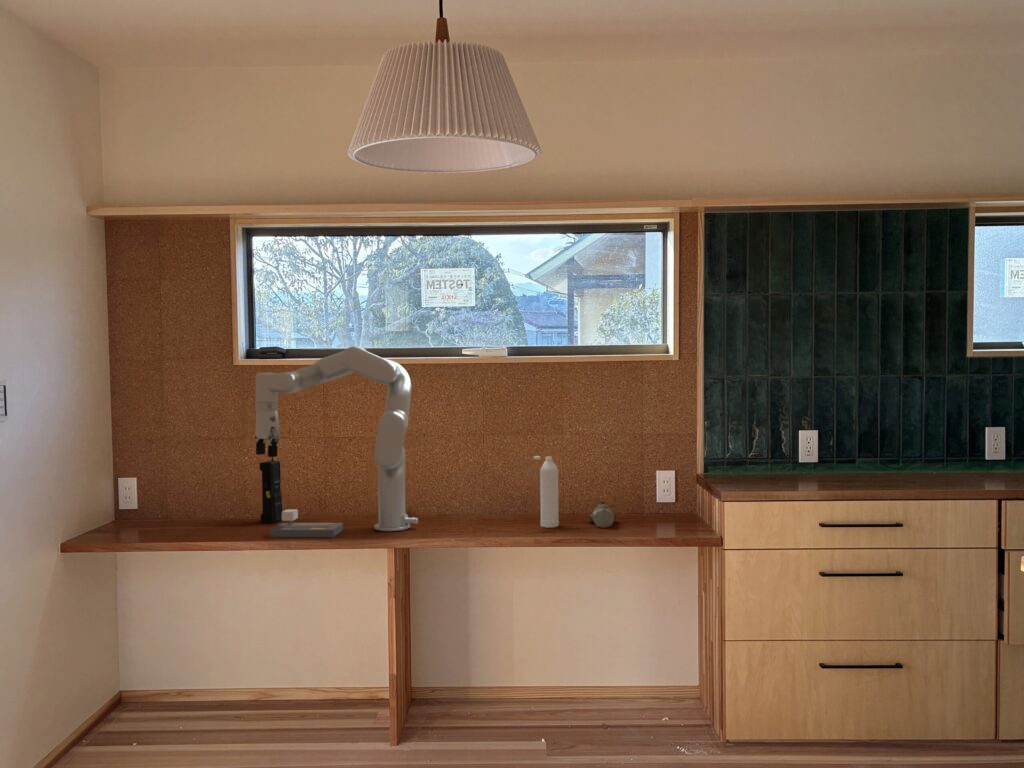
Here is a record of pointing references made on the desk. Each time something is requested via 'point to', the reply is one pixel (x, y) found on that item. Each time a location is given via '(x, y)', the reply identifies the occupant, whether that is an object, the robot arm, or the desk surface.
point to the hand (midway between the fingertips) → (266, 455)
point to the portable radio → (271, 492)
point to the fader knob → (289, 515)
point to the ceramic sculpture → (602, 516)
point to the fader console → (306, 530)
